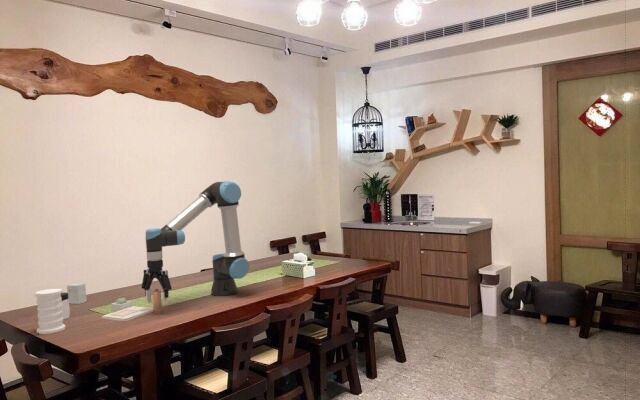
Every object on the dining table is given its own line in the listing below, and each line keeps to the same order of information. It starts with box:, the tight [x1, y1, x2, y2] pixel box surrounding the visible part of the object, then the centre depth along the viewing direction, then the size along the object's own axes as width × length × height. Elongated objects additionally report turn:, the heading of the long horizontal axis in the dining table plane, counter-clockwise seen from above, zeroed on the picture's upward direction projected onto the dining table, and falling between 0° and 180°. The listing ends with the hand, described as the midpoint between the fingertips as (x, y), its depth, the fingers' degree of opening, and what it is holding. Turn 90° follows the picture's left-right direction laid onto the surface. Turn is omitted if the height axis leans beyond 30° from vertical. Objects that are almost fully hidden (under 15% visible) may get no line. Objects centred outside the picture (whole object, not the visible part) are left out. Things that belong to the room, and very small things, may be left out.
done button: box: [116, 297, 127, 304], centre depth 265 cm, size 4×4×4 cm
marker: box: [151, 288, 163, 315], centre depth 253 cm, size 4×4×12 cm
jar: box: [61, 292, 71, 320], centre depth 251 cm, size 9×8×12 cm
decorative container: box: [34, 288, 66, 335], centre depth 230 cm, size 12×12×18 cm
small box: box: [66, 282, 87, 305], centre depth 284 cm, size 8×6×10 cm
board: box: [101, 305, 154, 322], centre depth 253 cm, size 16×20×1 cm
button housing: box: [110, 300, 133, 312], centre depth 265 cm, size 7×7×4 cm
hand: (157, 303), depth 254 cm, fingers open, 10 cm apart
